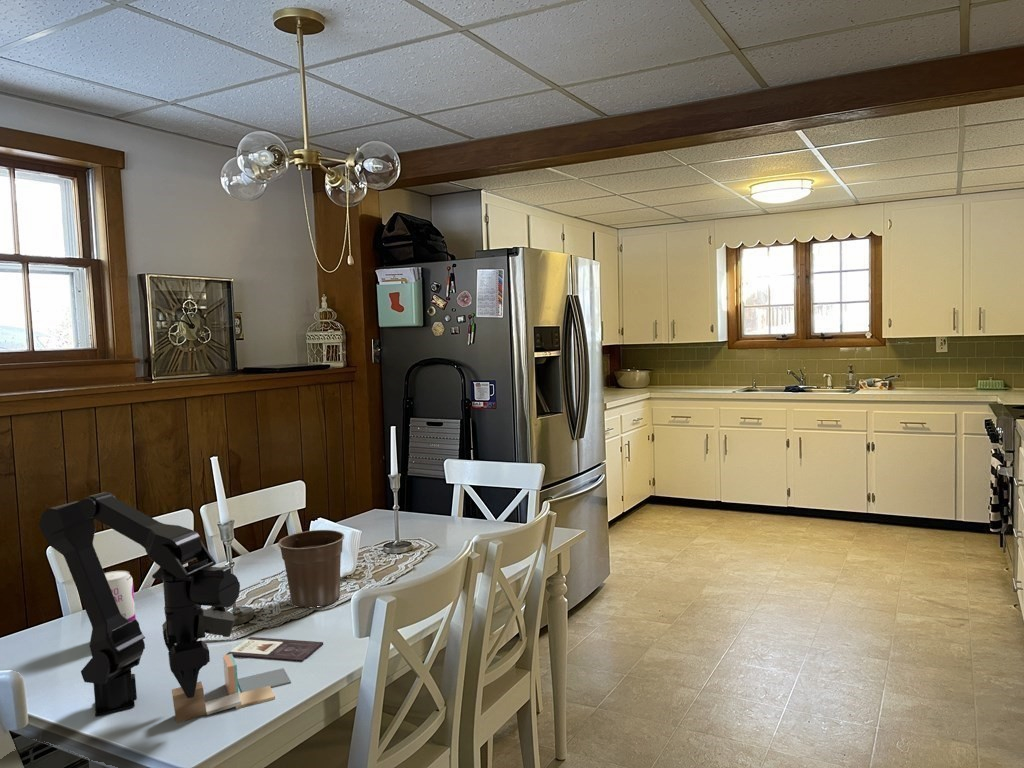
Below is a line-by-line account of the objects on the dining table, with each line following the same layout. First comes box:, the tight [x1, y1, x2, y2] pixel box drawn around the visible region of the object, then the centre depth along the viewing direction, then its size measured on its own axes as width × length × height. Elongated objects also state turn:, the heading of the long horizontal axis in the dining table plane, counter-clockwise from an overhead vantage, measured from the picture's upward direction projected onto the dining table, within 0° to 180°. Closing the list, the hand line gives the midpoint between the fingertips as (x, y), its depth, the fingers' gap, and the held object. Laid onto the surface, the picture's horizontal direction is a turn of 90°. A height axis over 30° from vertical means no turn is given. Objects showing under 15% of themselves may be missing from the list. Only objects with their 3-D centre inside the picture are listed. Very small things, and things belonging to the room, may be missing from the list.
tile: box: [222, 654, 240, 695], centre depth 148 cm, size 2×6×6 cm, turn 28°
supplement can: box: [104, 570, 137, 621], centre depth 175 cm, size 8×8×15 cm
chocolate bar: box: [225, 636, 324, 663], centre depth 166 cm, size 9×1×18 cm
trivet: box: [238, 667, 292, 693], centre depth 151 cm, size 9×7×1 cm
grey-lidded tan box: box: [171, 680, 242, 723], centre depth 140 cm, size 11×4×5 cm, turn 118°
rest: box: [234, 686, 276, 710], centre depth 145 cm, size 7×5×1 cm
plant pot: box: [277, 529, 345, 608], centre depth 196 cm, size 16×16×16 cm
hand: (188, 686), depth 139 cm, fingers open, 9 cm apart
